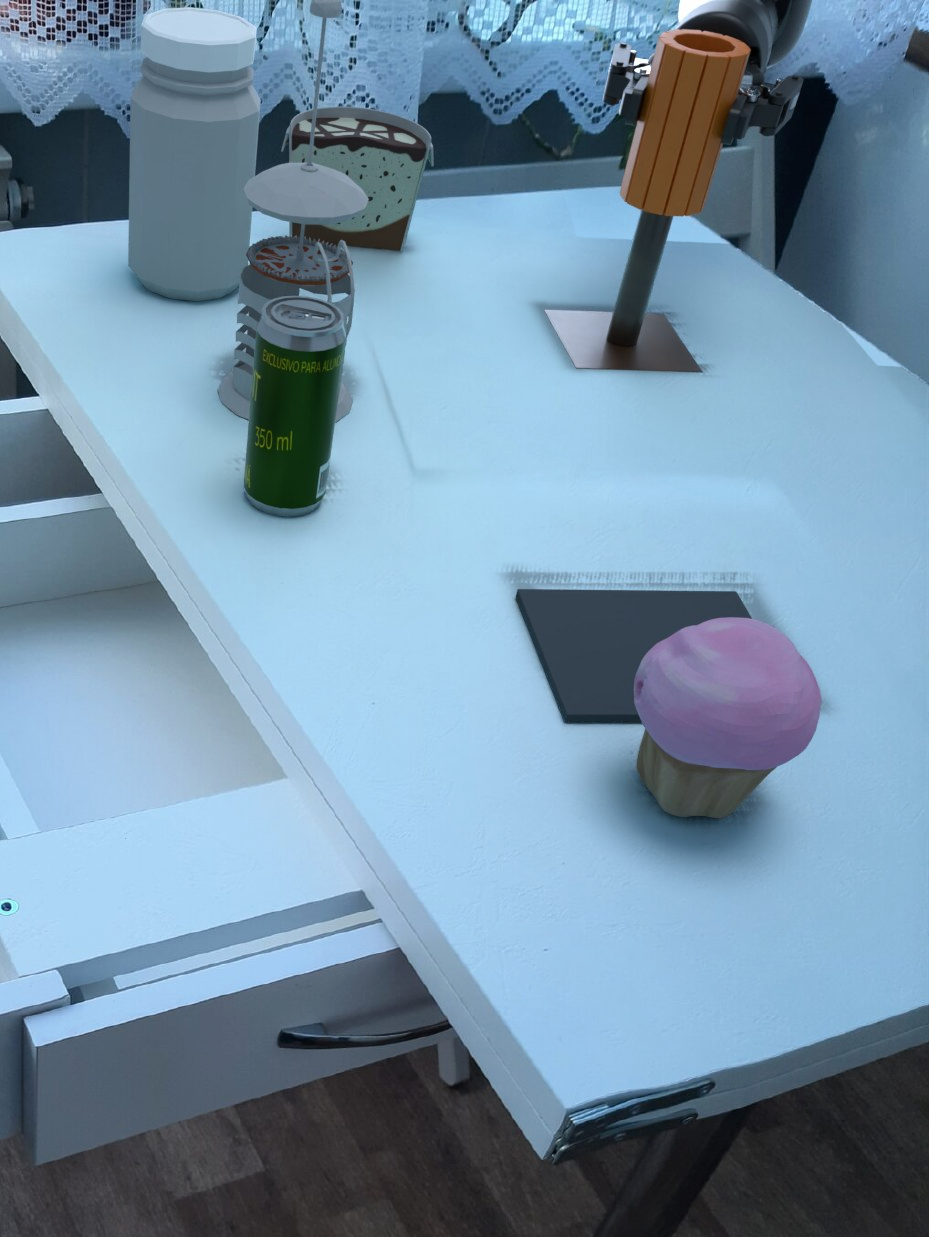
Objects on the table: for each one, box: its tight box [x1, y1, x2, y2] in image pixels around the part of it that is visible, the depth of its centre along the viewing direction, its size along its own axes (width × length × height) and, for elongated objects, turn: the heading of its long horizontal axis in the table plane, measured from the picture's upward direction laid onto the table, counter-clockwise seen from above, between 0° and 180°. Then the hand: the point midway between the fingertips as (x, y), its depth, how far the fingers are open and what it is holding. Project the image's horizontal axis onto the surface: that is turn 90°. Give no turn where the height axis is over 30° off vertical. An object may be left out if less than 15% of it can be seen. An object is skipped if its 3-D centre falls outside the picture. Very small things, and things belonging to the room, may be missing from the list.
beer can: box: [243, 295, 347, 518], centre depth 86 cm, size 5×5×12 cm
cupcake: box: [634, 617, 822, 819], centre depth 69 cm, size 9×9×10 cm
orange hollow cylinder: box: [619, 29, 751, 218], centre depth 96 cm, size 6×6×10 cm
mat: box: [515, 588, 753, 724], centre depth 81 cm, size 14×12×1 cm
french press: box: [217, 0, 369, 423], centre depth 90 cm, size 10×12×25 cm
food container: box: [280, 106, 435, 253], centre depth 115 cm, size 12×6×10 cm, turn 88°
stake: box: [543, 209, 704, 373], centre depth 103 cm, size 10×10×15 cm
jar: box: [127, 6, 262, 302], centre depth 105 cm, size 10×10×18 cm
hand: (681, 118), depth 94 cm, fingers closed on orange hollow cylinder, 6 cm apart
